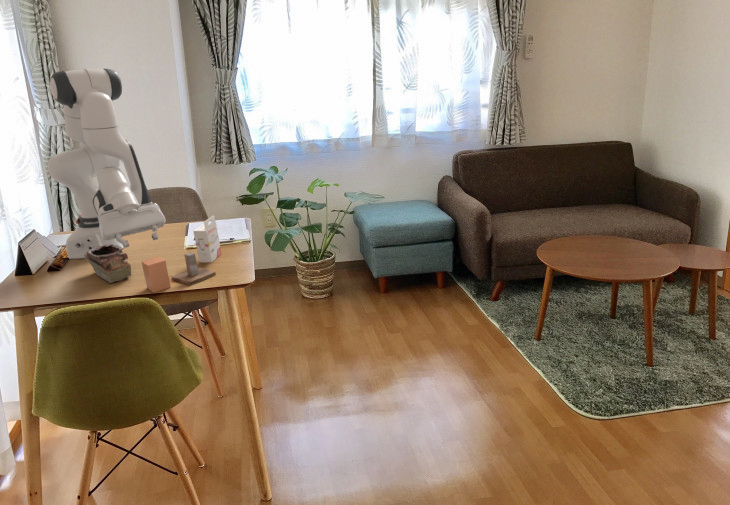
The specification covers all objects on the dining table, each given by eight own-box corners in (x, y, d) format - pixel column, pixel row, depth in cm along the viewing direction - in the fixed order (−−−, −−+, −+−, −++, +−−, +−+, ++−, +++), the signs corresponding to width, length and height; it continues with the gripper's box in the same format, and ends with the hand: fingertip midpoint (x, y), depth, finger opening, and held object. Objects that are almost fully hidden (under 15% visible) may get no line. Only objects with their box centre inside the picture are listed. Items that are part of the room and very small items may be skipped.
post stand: (171, 279, 203) (167, 256, 201) (197, 269, 211) (193, 246, 208) (190, 285, 197) (185, 261, 195) (215, 274, 204) (211, 251, 202)
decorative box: (93, 290, 200) (86, 262, 197) (78, 274, 215) (71, 247, 212) (134, 278, 207) (128, 251, 204) (117, 264, 222) (111, 238, 219)
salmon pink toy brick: (147, 287, 198) (141, 261, 195) (164, 282, 201) (158, 256, 198) (153, 292, 194) (147, 265, 191) (170, 287, 197) (165, 260, 194)
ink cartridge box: (209, 254, 225) (202, 214, 220) (221, 254, 223) (215, 214, 218) (198, 262, 217) (191, 222, 212) (211, 262, 216) (204, 222, 211)
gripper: (155, 206, 211) (171, 239, 207) (93, 220, 200) (108, 256, 196) (157, 195, 207) (174, 229, 202) (94, 209, 195) (110, 245, 191)
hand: (141, 242), depth 199 cm, fingers open, 8 cm apart
